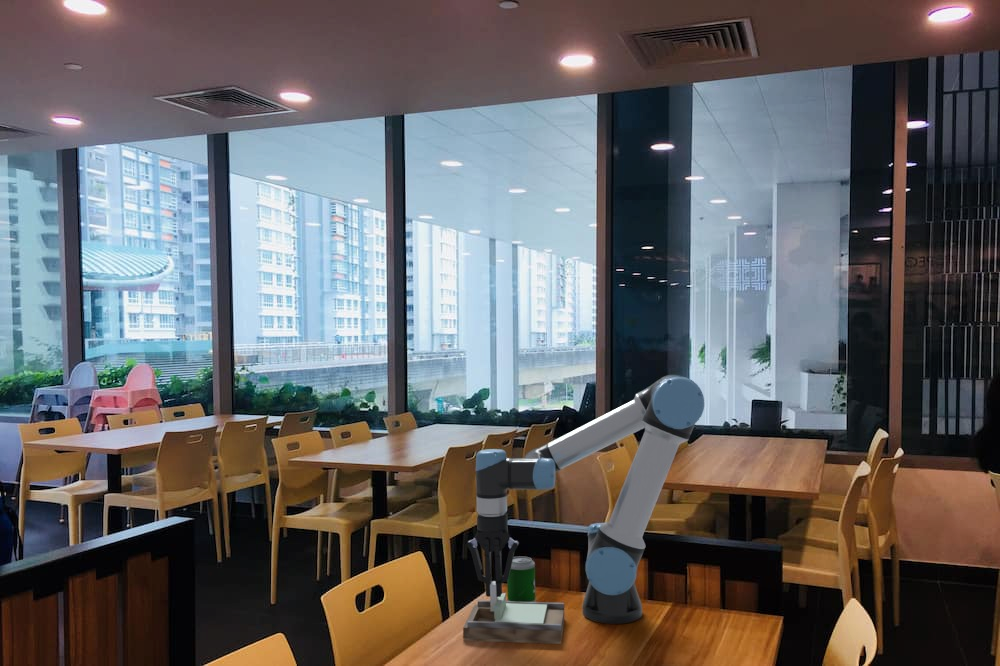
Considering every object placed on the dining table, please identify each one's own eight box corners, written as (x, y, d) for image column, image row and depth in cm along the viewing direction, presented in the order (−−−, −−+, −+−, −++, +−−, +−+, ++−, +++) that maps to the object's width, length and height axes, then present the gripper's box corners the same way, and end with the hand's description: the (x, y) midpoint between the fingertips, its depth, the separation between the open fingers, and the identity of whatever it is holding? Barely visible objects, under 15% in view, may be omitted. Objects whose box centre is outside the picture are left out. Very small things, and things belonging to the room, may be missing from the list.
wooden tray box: (564, 619, 195) (564, 602, 195) (560, 644, 179) (560, 625, 179) (474, 616, 198) (474, 599, 198) (463, 640, 182) (463, 622, 182)
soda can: (533, 610, 202) (532, 564, 202) (505, 608, 203) (504, 562, 203) (537, 600, 209) (536, 556, 209) (510, 599, 211) (509, 555, 211)
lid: (547, 607, 194) (546, 592, 194) (543, 626, 181) (542, 610, 181) (500, 606, 195) (500, 591, 195) (493, 625, 182) (493, 608, 182)
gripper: (520, 509, 192) (522, 604, 192) (468, 509, 194) (470, 603, 194) (516, 516, 185) (519, 615, 184) (463, 516, 186) (465, 614, 186)
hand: (494, 609), depth 189 cm, fingers closed
